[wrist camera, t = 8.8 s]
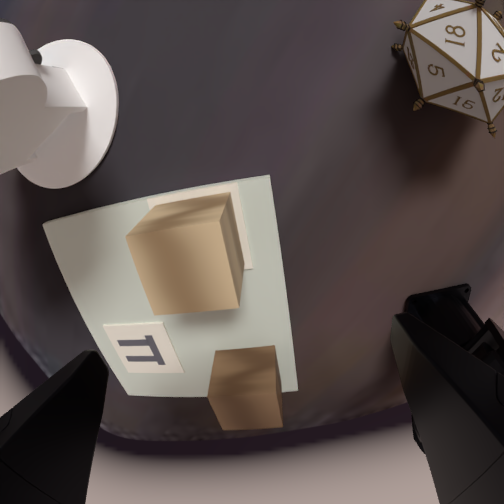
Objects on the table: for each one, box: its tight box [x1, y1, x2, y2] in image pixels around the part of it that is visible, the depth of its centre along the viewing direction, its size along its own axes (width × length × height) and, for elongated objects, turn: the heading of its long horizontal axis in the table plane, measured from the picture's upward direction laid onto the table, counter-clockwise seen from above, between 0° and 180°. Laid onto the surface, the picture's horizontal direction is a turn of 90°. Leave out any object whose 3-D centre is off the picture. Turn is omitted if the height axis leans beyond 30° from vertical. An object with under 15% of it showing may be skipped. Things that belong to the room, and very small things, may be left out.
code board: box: [42, 175, 298, 397], centre depth 24 cm, size 18×20×1 cm
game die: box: [391, 0, 504, 138], centre depth 11 cm, size 9×8×10 cm
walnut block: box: [207, 345, 283, 430], centre depth 24 cm, size 5×5×5 cm
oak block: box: [125, 192, 245, 316], centre depth 18 cm, size 5×5×5 cm
